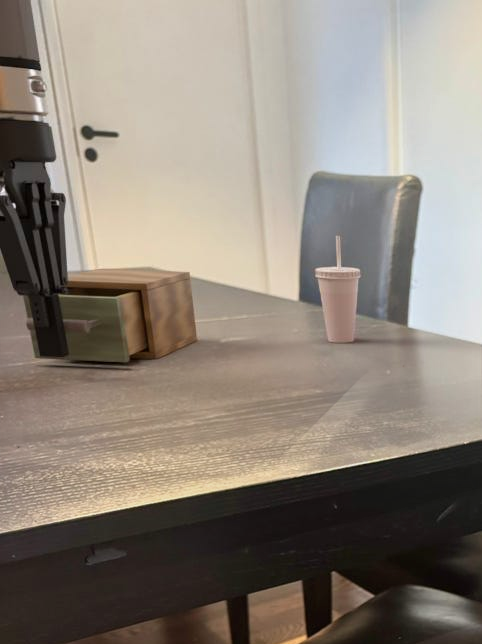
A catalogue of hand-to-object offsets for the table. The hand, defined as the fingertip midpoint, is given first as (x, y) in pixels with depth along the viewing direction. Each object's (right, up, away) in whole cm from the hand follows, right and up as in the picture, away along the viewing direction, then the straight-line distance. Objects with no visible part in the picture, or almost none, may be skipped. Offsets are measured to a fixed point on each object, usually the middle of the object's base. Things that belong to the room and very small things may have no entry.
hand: (54, 355), depth 104 cm
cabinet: (+2, +7, +19) cm, 21 cm away
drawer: (+1, +3, +10) cm, 11 cm away
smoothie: (+29, +11, +28) cm, 42 cm away
